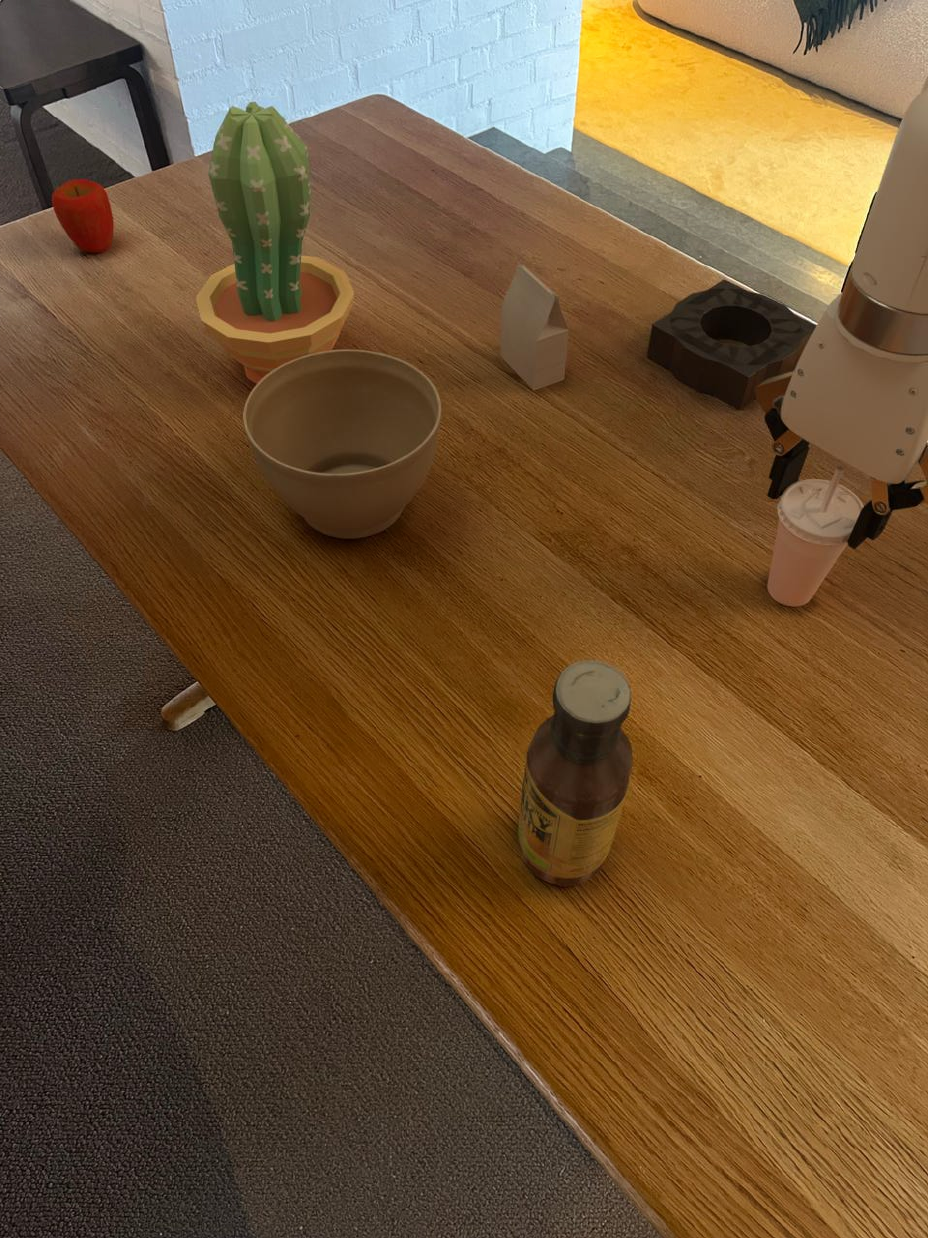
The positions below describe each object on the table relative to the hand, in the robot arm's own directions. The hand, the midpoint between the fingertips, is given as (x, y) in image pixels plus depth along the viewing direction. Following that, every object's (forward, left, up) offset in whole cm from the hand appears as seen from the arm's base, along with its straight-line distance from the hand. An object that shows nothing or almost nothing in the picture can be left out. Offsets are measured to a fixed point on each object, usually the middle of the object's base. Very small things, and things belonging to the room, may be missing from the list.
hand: (821, 512), depth 73 cm
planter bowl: (+20, -33, -9) cm, 40 cm away
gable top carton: (-6, -36, -9) cm, 38 cm away
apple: (+15, -88, -9) cm, 90 cm away
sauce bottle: (+31, +3, -9) cm, 32 cm away
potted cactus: (+12, -54, -9) cm, 56 cm away
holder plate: (-22, -23, -9) cm, 33 cm away
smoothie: (0, 0, -9) cm, 9 cm away
